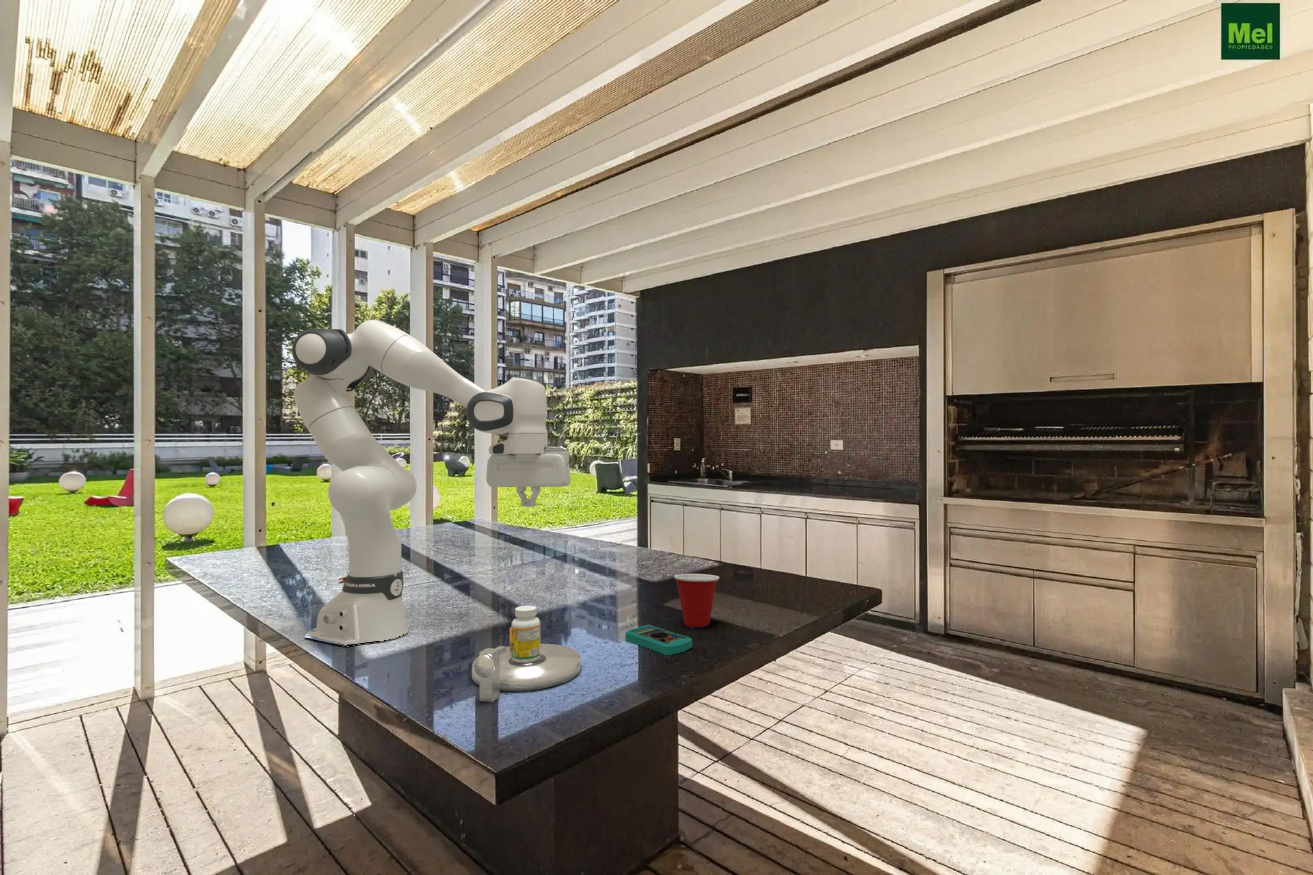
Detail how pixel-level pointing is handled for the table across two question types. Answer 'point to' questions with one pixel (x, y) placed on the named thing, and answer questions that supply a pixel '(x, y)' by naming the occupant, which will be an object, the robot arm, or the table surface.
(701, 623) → the plastic cup
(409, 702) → the table surface
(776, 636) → the table surface
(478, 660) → the stand
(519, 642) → the supplement bottle
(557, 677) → the turntable
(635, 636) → the digital multimeter
